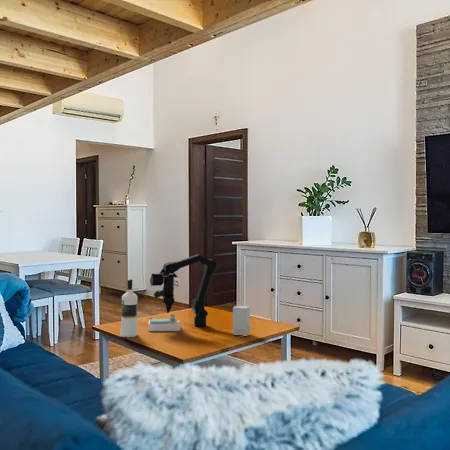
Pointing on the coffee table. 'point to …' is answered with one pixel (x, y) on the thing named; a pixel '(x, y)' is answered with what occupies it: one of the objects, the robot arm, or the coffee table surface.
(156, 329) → the channel
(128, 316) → the vodka
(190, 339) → the coffee table surface
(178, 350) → the coffee table surface
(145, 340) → the coffee table surface
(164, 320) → the cover
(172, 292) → the robot arm
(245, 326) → the skincare box
